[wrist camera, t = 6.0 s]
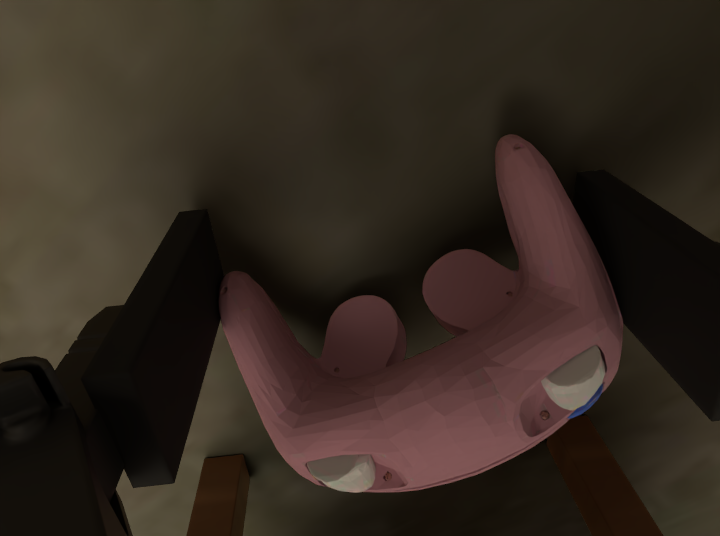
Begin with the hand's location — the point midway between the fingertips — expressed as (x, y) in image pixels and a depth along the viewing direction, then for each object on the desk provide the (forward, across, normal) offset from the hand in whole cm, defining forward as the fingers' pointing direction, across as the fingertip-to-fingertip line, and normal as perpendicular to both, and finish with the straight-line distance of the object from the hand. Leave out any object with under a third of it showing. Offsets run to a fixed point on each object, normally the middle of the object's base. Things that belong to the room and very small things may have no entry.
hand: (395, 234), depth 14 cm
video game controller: (0, 0, -2) cm, 2 cm away
